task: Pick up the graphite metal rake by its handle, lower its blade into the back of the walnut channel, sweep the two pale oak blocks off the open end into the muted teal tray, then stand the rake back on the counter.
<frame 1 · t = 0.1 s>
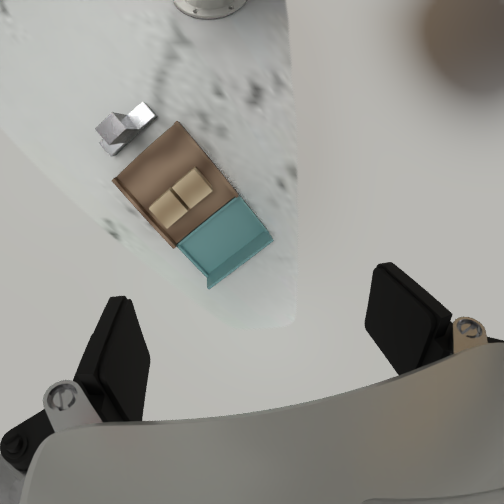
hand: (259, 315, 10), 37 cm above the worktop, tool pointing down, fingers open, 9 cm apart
oak block B: (193, 184, 42), point 2 cm above the worktop, touching walnut channel
rake: (130, 129, 39), on the worktop
walnut channel: (176, 183, 44), on the worktop
teal tray: (222, 235, 48), on the worktop
oak block A: (171, 203, 43), point 2 cm above the worktop, touching walnut channel
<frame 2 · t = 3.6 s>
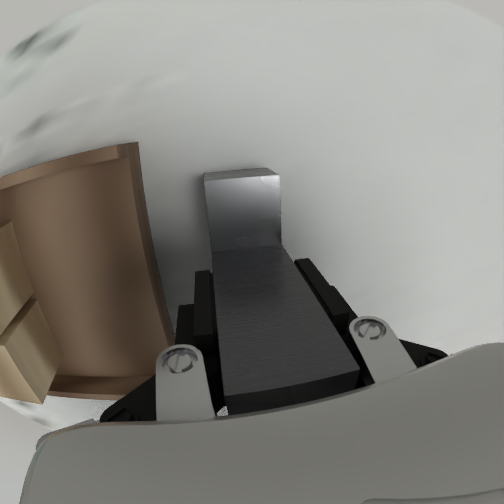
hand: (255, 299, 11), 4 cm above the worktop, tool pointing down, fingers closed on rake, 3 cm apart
oak block B: (27, 329, 13), point 2 cm above the worktop, touching walnut channel
rake: (242, 256, 15), on the worktop, touching gripper
walnut channel: (47, 279, 14), on the worktop
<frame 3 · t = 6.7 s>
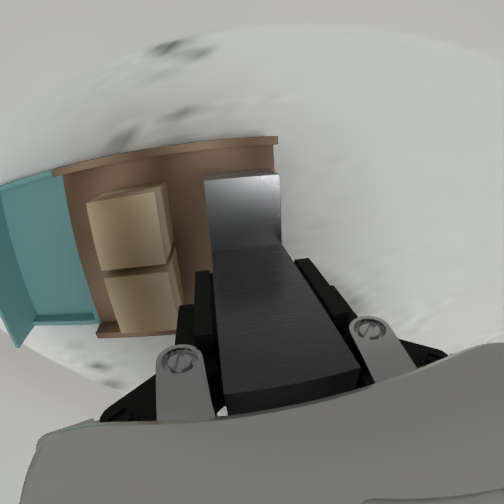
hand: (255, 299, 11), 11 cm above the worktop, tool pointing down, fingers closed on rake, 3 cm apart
oak block B: (152, 275, 20), point 2 cm above the worktop, touching walnut channel
rake: (242, 256, 15), point 7 cm above the worktop, touching gripper
walnut channel: (174, 233, 21), on the worktop
teal tray: (46, 250, 20), on the worktop
oak block A: (141, 214, 18), point 2 cm above the worktop, touching walnut channel
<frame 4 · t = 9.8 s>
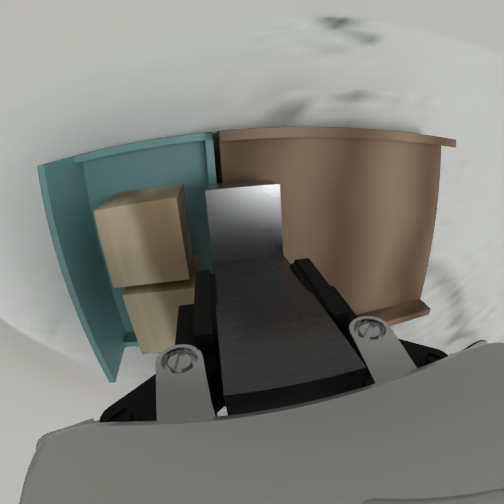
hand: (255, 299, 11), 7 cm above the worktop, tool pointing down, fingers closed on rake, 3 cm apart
oak block B: (204, 299, 17), point 2 cm above the worktop, tilted 90°, touching teal tray
rake: (244, 269, 15), point 3 cm above the worktop, touching gripper
walnut channel: (336, 226, 19), on the worktop
teal tray: (156, 247, 17), on the worktop
oak block A: (185, 226, 15), point 2 cm above the worktop, tilted 90°, touching teal tray
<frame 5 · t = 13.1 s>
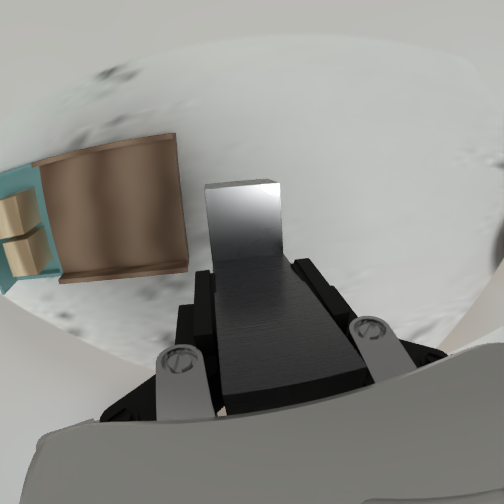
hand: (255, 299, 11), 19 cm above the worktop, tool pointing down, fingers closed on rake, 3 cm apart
oak block B: (40, 249, 25), point 2 cm above the worktop, tilted 90°, touching teal tray
rake: (243, 269, 15), point 15 cm above the worktop, tilted 6°, touching gripper
walnut channel: (113, 206, 27), on the worktop
teal tray: (28, 221, 26), on the worktop
oak block A: (29, 209, 23), point 2 cm above the worktop, tilted 90°, touching teal tray
when the fingers open (6 cm above the worktop, at t = 16.0 s): rake drops 2 cm, on the worktop.
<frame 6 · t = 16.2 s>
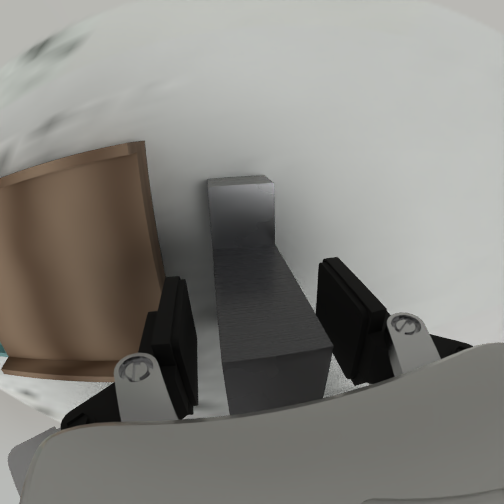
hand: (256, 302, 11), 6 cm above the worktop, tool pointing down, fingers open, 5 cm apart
rake: (239, 254, 17), on the worktop
walnut channel: (56, 268, 15), on the worktop
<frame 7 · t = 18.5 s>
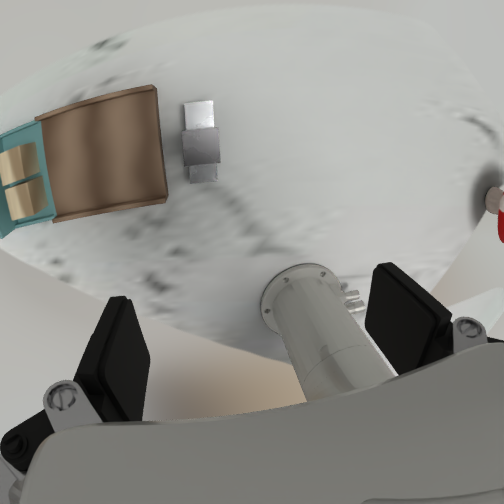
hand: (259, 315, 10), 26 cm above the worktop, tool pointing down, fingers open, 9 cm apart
oak block B: (38, 194, 27), point 2 cm above the worktop, tilted 90°, touching teal tray
rake: (200, 140, 31), on the worktop
walnut channel: (103, 153, 29), on the worktop
decorative mushroom: (488, 198, 43), on the worktop
teal tray: (28, 173, 28), on the worktop
oak block A: (30, 159, 25), point 2 cm above the worktop, tilted 90°, touching teal tray
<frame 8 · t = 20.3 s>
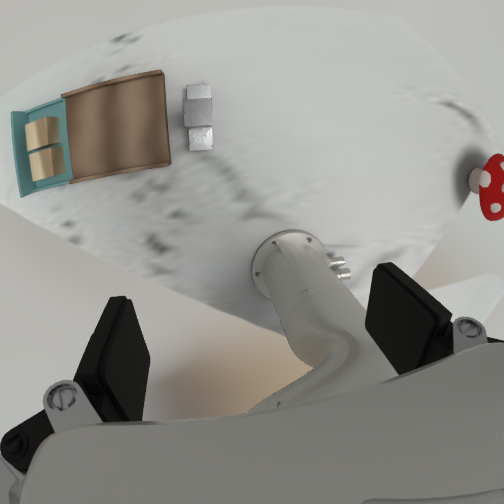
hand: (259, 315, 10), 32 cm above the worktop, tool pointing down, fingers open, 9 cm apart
oak block B: (58, 160, 32), point 2 cm above the worktop, tilted 90°, touching teal tray
rake: (200, 117, 36), on the worktop
walnut channel: (117, 127, 34), on the worktop
decorative mushroom: (472, 180, 46), on the worktop
teal tray: (50, 144, 33), on the worktop
oak block A: (53, 129, 30), point 2 cm above the worktop, tilted 90°, touching teal tray
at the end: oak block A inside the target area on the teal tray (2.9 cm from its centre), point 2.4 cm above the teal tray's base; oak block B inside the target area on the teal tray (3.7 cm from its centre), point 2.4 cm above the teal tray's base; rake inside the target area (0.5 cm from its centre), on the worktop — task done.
